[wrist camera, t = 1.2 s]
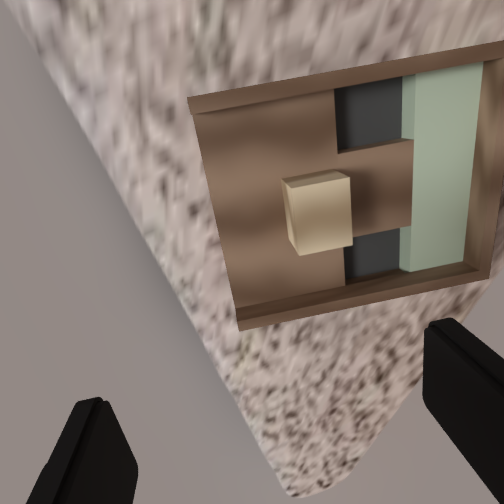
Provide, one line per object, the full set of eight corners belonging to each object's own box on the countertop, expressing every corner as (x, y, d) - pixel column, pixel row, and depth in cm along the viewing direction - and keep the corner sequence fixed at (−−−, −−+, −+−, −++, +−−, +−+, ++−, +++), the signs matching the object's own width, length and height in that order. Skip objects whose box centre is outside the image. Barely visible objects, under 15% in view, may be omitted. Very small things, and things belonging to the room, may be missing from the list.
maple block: (280, 178, 25) (291, 188, 22) (331, 168, 25) (349, 177, 22) (288, 238, 27) (299, 256, 24) (335, 229, 27) (352, 245, 24)
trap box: (190, 99, 24) (187, 97, 21) (477, 47, 25) (523, 36, 21) (235, 305, 31) (239, 331, 28) (457, 259, 32) (489, 278, 29)
